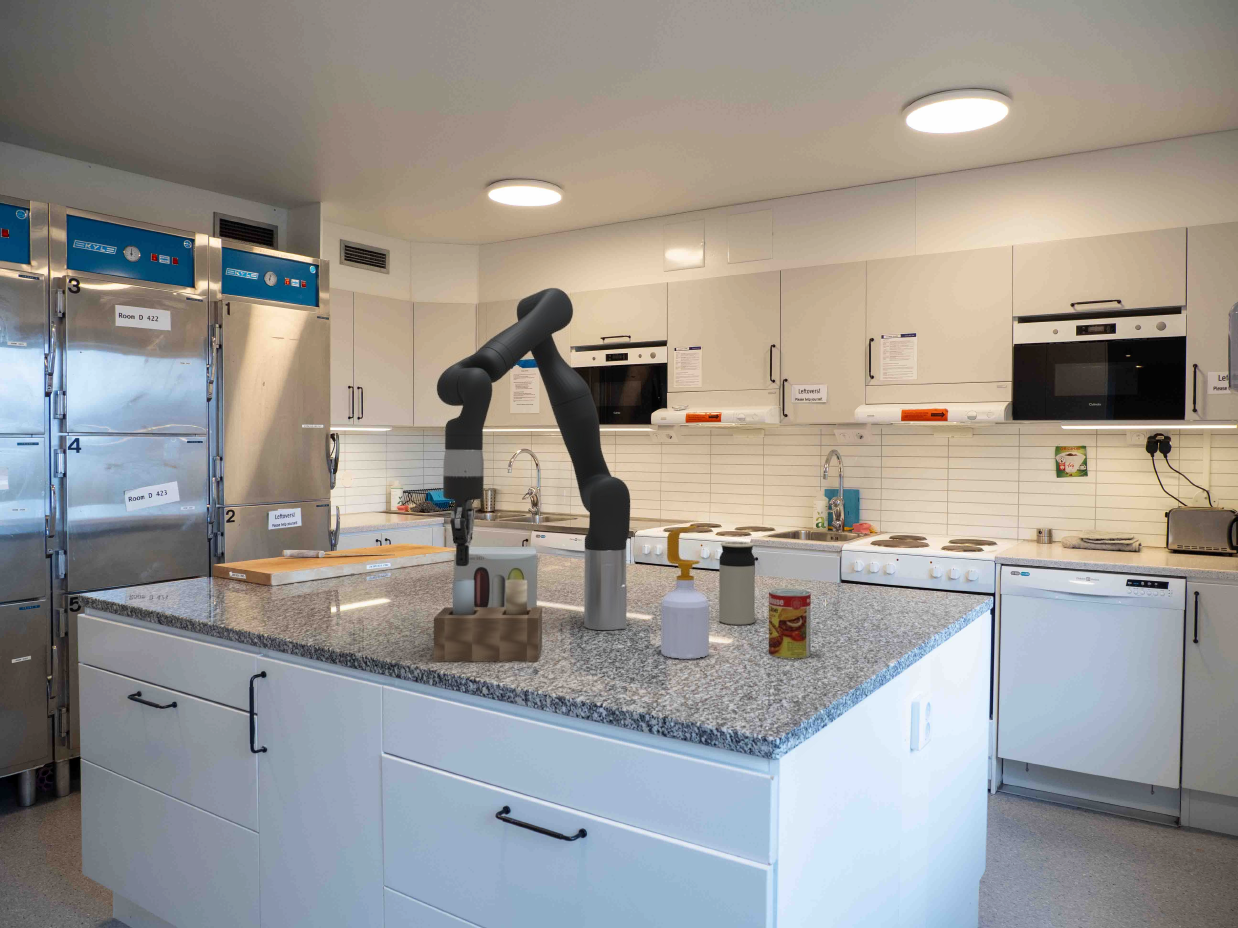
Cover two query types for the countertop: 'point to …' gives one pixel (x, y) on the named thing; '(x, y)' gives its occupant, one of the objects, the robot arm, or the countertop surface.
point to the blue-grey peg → (463, 597)
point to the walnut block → (488, 635)
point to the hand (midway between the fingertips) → (462, 565)
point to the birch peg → (516, 597)
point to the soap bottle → (684, 610)
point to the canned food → (789, 623)
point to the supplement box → (499, 573)
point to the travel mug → (737, 583)
